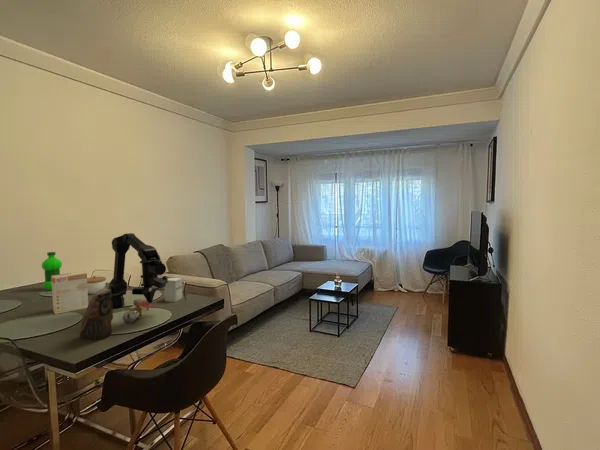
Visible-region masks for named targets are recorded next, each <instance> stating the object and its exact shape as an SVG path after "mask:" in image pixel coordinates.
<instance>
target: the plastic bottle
mask: <svg viewBox="0 0 600 450" xmlns="http://www.w3.org/2000/svg"><path fill="white" fill-rule="evenodd" d="M46 255H47V256H48V257H47V258H46V259H44V261H42V263H41V268H42V270H43V271H44V282H43V285H42V286H43V288H45V289H46V290H47V291H50V292H52V279H51V276H52V275H60V274H61V268H62V266H63V265H62V264H63V263H62V261H61V260H60V259H59V258H57V257H56V251H50V252H47V254H46Z"/></svg>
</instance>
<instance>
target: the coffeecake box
mask: <svg viewBox="0 0 600 450" xmlns="http://www.w3.org/2000/svg"><path fill="white" fill-rule="evenodd" d="M87 278H88V273H87V272H86V271H77V272H69V273H62V274H61V273H60V275H52V276H51V279H52V291H51V294H52V295H51V296H52V312H53V313H54V315H57V314H63V313H64V314H65V313H68V312H74V311H79V310H80V311H81V310H84V309H87V307H88V305H89V294H88V287H87Z"/></svg>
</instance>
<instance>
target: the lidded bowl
mask: <svg viewBox="0 0 600 450" xmlns="http://www.w3.org/2000/svg"><path fill="white" fill-rule="evenodd" d="M106 281H107V277H105V276H96V275H93V276H91V277H87V287H88V295H95V294H96V293H97V292H98V291H99V290H101V289H103V288H104V287H106V284H107V282H106Z"/></svg>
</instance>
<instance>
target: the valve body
mask: <svg viewBox="0 0 600 450" xmlns="http://www.w3.org/2000/svg"><path fill="white" fill-rule="evenodd" d="M141 301H145V302H148V301H147V299H146V298H144V299H143V300H142V299H141ZM149 309H150V308H146V307H142V306H139V305H137V306H135V305H134V304H133V305H132V306H130V307H129V308H128V311H126V312H125V313H124V314H123V315H122V320H123V322H124V323H125V324H127V325H129V324H132V323H134V322H135V321H136V320H137V319H142V318H144V317H145V316H146V315H147V310H149ZM145 314H146V315H145ZM144 315H145V316H144Z"/></svg>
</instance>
